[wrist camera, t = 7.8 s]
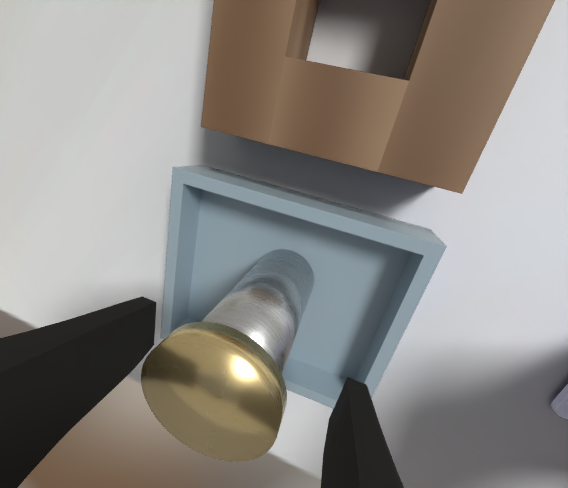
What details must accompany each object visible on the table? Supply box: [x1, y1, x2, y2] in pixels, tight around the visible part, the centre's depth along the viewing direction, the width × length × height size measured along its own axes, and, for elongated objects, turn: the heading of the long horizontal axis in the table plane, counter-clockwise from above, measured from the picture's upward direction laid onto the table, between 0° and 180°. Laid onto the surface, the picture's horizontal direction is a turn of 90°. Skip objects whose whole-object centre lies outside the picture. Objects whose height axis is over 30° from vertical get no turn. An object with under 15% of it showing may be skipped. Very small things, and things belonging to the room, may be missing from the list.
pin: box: [141, 249, 314, 462], centre depth 11 cm, size 4×4×8 cm
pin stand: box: [201, 0, 555, 194], centre depth 9 cm, size 10×10×3 cm
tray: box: [161, 165, 447, 409], centre depth 14 cm, size 12×10×2 cm
